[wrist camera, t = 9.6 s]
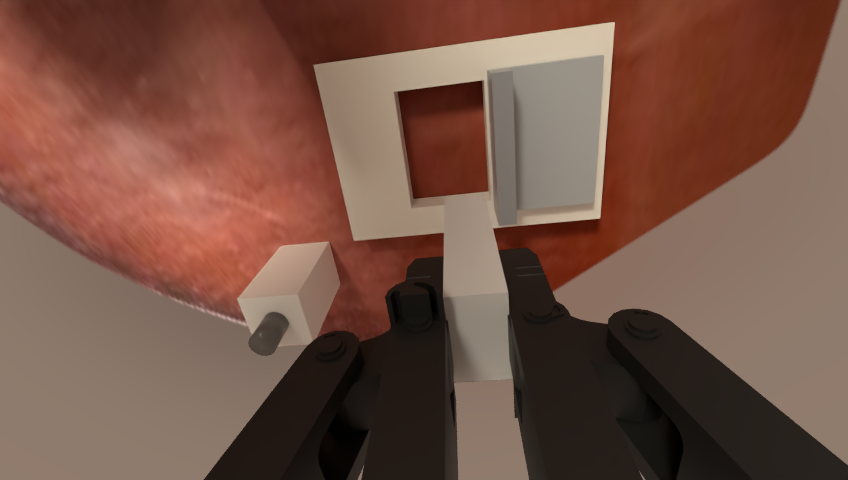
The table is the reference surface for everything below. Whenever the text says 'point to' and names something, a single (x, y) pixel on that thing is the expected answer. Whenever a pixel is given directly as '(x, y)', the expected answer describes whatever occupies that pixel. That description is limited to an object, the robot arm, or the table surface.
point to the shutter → (544, 134)
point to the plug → (290, 297)
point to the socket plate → (384, 137)
